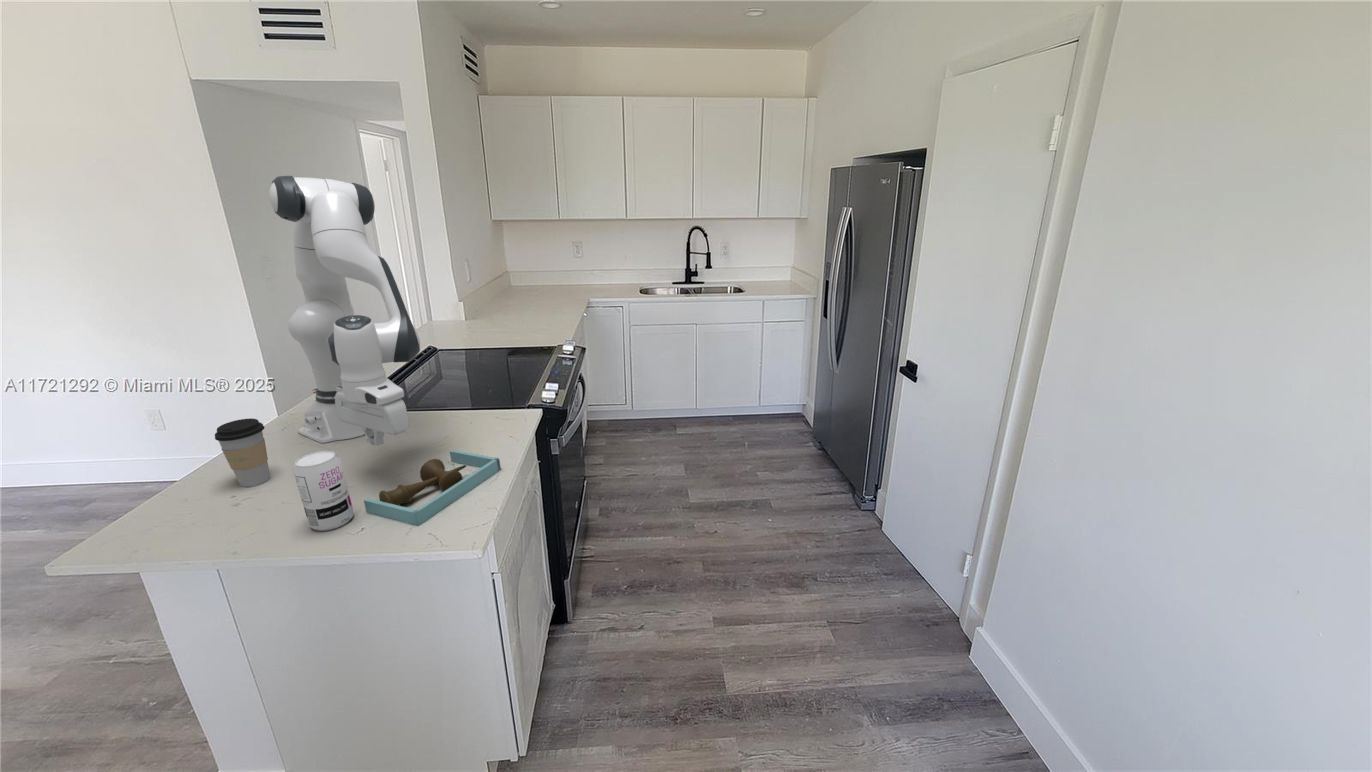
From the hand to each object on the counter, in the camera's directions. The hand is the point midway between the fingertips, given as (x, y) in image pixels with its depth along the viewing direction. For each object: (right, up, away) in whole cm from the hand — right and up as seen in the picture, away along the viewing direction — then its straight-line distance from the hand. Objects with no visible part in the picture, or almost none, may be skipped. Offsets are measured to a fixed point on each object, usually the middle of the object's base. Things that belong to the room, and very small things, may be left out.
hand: (376, 444), depth 130 cm
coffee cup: (-33, -10, +6) cm, 35 cm away
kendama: (+13, -12, -2) cm, 18 cm away
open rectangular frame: (+14, -11, 0) cm, 18 cm away
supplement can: (-3, -15, -12) cm, 20 cm away
